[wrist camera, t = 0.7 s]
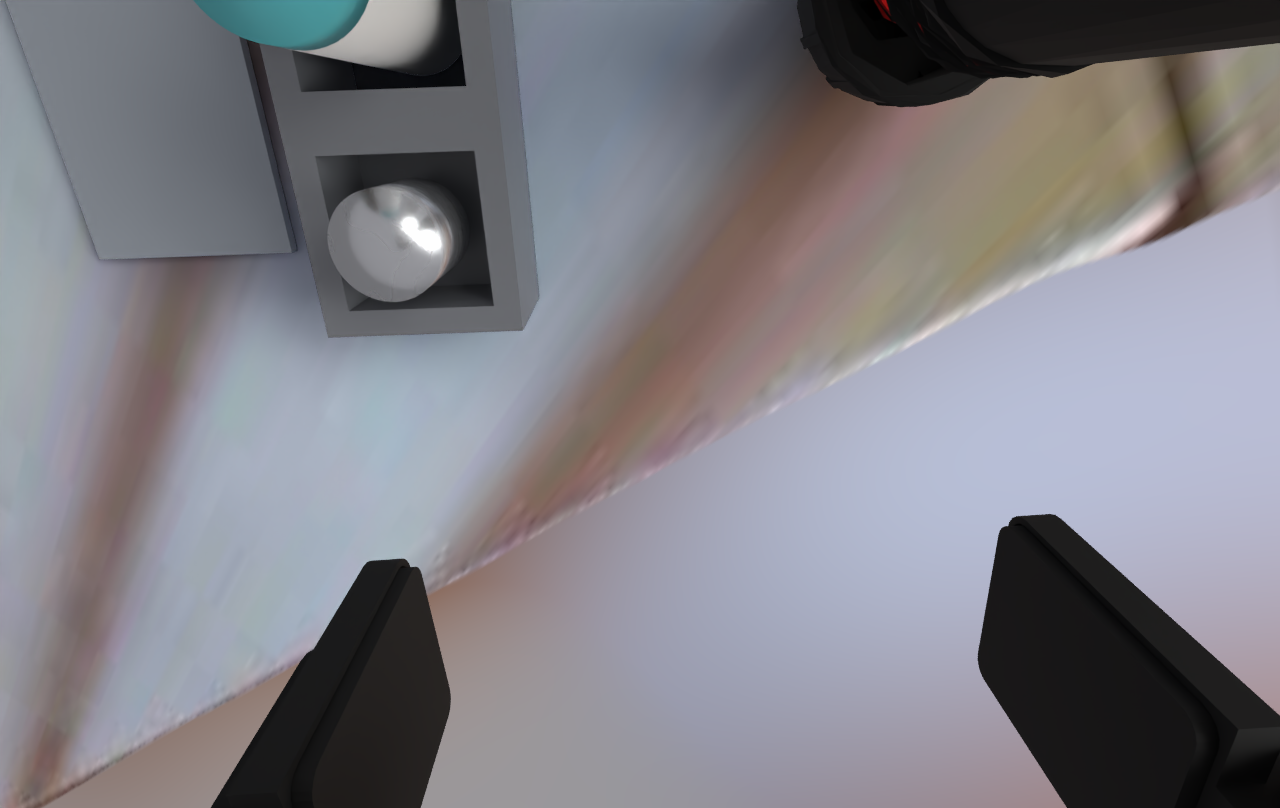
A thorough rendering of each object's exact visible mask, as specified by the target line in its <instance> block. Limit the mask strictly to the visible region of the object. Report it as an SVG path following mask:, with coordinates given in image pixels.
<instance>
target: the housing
mask: <svg viewBox="0 0 1280 808" xmlns="http://www.w3.org/2000/svg"><path fill="white" fill-rule="evenodd" d="M455 1H456V9H457V17H458V25H459V33H460V41H461V49H462V56H463V64H464V72H465V80H466V86H456V87H428V88H400V89H371V90H357V87H356V82H355V77H354V71H353V66H352V62H348V61H343V60H338V59H333V58H329V57H324V56H319V55H314V54H309V53H305V52H300V51H295V50H290V49H285V48H281V47H276V46H271V45H266V44H261V43H259V45H260V49H261V53H262V57H263V62H264V66H265V70H266V74H267V79H268V83H269V87H270V91H271V96H272V100H273V104H274V108H275V113H276V117H277V121H278V125H279V130H280V134H281V138H282V142H283V147H284V151H285V155H286V160H287V164H288V168H289V172H290V177H291V181H292V185H293V189H294V194H295V198H296V202H297V206H298V211H299V215H300V219H301V223H302V228H303V232H304V236H305V240H306V245H307V249H308V253H309V257H310V262H311V266H312V270H313V274H314V279H315V283H316V287H317V291H318V296H319V300H320V304H321V308H322V313H323V317H324V321H325V325H326V330H327V334H328V337H356V336H384V335H412V334H439V333H467V332H495V331H523V330H524V328H525V326H526V324H527V322H528V320H529V318H530V316H531V314H532V312H533V310H534V308H535V306H536V304H537V302H538V300H539V289H538V278H537V268H536V258H535V247H534V237H533V226H532V216H531V206H530V195H529V185H528V175H527V164H526V154H525V144H524V133H523V123H522V112H521V102H520V92H519V81H518V71H517V61H516V50H515V40H514V29H513V19H512V9H511V0H455ZM406 178H425V179H429V180H432V181H435V182H437V183H439V184H441V185H443V186H444V187H446V188H447V189H448V190H450V191H451V192H452V193H453V194H454V195H455V196H456V197H457V199H458V200H459V201H460V203H461V204H462V206H463V207H464V210H465V212H466V214H467V217H468V220H469V226H470V239H469V244H468V247H467V250H466V252H465V254H464V256H463V257H462V259H461V260H460V261H459V262H458V263H457V264H456V265H455V266H454V267H453V268H452V269H450V270H449V271H448V272H447V273H446V274H444V275H443V276H442V277H441V278H440V279H439V280H437V281H436V282H435V283H434V284H433V285H431V286H430V287H429V288H428V289H427V290H425V291H424V292H423V293H422V294H420V295H418V296H416V297H414V298H412V299H409V300H405V301H400V302H386V301H380V300H377V299H373V298H371V297H368V296H366V295H364V294H362V293H361V292H359V291H358V290H356V289H355V288H353V287H352V286H351V285H350V284H349V283H348V282H347V281H346V280H345V279H344V278H343V277H342V276H341V274H340V273H339V271H338V270H337V268H336V266H335V265H334V263H333V260H332V258H331V255H330V252H329V247H328V237H327V234H328V226H329V222H330V219H331V216H332V214H333V212H334V211H335V209H336V207H337V206H338V205H339V204H340V203H341V202H342V201H343V200H344V199H345V198H346V197H348V196H350V195H351V194H353V193H355V192H358V191H361V190H364V189H368V188H372V187H376V186H380V185H383V184H387V183H391V182H395V181H398V180H402V179H406Z"/></svg>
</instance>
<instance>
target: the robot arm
mask: <svg viewBox="0 0 1280 808" xmlns="http://www.w3.org/2000/svg"><path fill="white" fill-rule="evenodd" d="M978 664H979V669H980V672H981V674H982V677H983V678H984V680H985V682H986V683H987V685H988V687H989V688H990V690H991V691H992V693H993V694H994V696H995V697H996V699H997V700H998V702H999V704H1000V705H1001V706H1002V708H1003V710H1004V711H1005V713H1006V714H1007V716H1008V717H1009V719H1010V720H1011V722H1012V724H1013V725H1014V727H1015V728H1016V730H1017V731H1018V733H1019V734H1020V736H1021V737H1022V739H1023V741H1024V742H1025V744H1026V745H1027V747H1028V748H1029V750H1030V751H1031V753H1032V755H1033V756H1034V758H1035V759H1036V761H1037V762H1038V764H1039V765H1040V767H1041V768H1042V770H1043V771H1044V773H1045V774H1046V776H1047V778H1048V779H1049V781H1050V782H1051V784H1052V785H1053V787H1054V788H1055V790H1056V791H1057V793H1058V795H1059V796H1060V798H1061V799H1062V801H1063V802H1064V804H1065V805H1066V807H1067V808H1280V715H1278V714H1277V713H1276V712H1275V711H1274V710H1273V709H1272V708H1271V707H1270V706H1268V705H1267V704H1266V703H1265V702H1264V701H1263V700H1262V699H1261V698H1260V697H1258V696H1257V695H1256V694H1255V693H1254V692H1253V691H1252V690H1251V689H1250V688H1248V687H1247V686H1246V685H1245V684H1244V683H1243V682H1242V681H1241V680H1240V679H1238V678H1237V677H1236V676H1235V675H1234V674H1233V673H1232V672H1231V671H1230V670H1228V669H1227V668H1226V667H1225V666H1224V665H1223V664H1222V663H1221V662H1220V661H1218V660H1217V659H1216V658H1215V657H1214V656H1213V655H1212V654H1211V653H1210V652H1208V651H1207V650H1206V649H1205V648H1204V647H1203V646H1202V645H1201V644H1200V643H1198V642H1197V641H1196V640H1195V639H1194V638H1193V637H1192V636H1191V635H1189V634H1188V633H1187V632H1186V631H1185V630H1184V629H1183V628H1182V627H1181V626H1180V625H1178V624H1177V623H1176V622H1175V621H1174V620H1173V619H1172V618H1171V617H1169V616H1168V615H1167V614H1166V613H1165V612H1164V611H1163V610H1162V609H1161V608H1159V607H1158V606H1157V605H1156V604H1155V603H1154V602H1153V601H1152V600H1150V599H1149V598H1148V597H1147V596H1146V595H1145V594H1144V593H1143V592H1142V591H1141V590H1139V589H1138V588H1137V587H1136V586H1135V585H1134V584H1133V583H1132V582H1130V581H1129V580H1128V579H1127V578H1126V577H1125V576H1124V575H1123V574H1122V573H1121V572H1119V571H1118V570H1117V569H1116V568H1115V567H1114V566H1113V565H1112V564H1110V563H1109V562H1108V561H1107V560H1106V559H1105V558H1104V557H1103V556H1102V555H1101V554H1099V553H1098V552H1097V551H1096V550H1095V549H1094V548H1093V547H1092V546H1091V545H1089V544H1088V543H1087V542H1086V541H1085V540H1084V539H1083V538H1082V537H1081V536H1079V535H1078V534H1077V533H1076V532H1075V531H1074V530H1073V529H1071V528H1070V527H1069V526H1068V525H1067V524H1066V523H1065V522H1064V521H1063V520H1062V519H1060V518H1059V517H1057V516H1056V515H1052V514H1045V515H1030V516H1016V517H1014V518H1012V520H1011V521H1010V522H1009V526H1005V527H1003V528H1002V529H1001V530H1000V533H999V535H998V541H997V547H996V553H995V559H994V564H993V570H992V576H991V582H990V587H989V593H988V599H987V604H986V610H985V616H984V622H983V628H982V634H981V640H980V645H979V651H978ZM450 700H451V696H450V688H449V684H448V680H447V676H446V672H445V668H444V664H443V660H442V655H441V652H440V647H439V644H438V639H437V635H436V631H435V627H434V623H433V619H432V615H431V611H430V607H429V602H428V598H427V594H426V590H425V586H424V582H423V578H422V574H421V571H420V569H419V568H418V567H410V565H409V563H408V562H407V560H405V559H391V560H377V561H369V562H367V563H366V564H365V565H364V567H363V568H362V570H361V572H360V573H359V575H358V577H357V578H356V580H355V582H354V583H353V585H352V587H351V588H350V590H349V592H348V593H347V595H346V597H345V598H344V600H343V602H342V603H341V605H340V607H339V608H338V610H337V612H336V613H335V615H334V616H333V618H332V620H331V621H330V623H329V625H328V626H327V628H326V630H325V631H324V633H323V635H322V636H321V638H320V640H319V641H318V643H317V645H316V646H315V648H314V649H313V650H312V651H310V652H308V653H307V654H306V655H305V656H304V658H303V659H302V660H301V661H300V663H299V665H298V666H297V668H296V670H295V671H294V673H293V675H292V676H291V678H290V679H289V681H288V683H287V684H286V686H285V688H284V689H283V691H282V692H281V694H280V696H279V697H278V699H277V701H276V703H275V704H274V706H273V707H272V709H271V710H270V712H269V714H268V715H267V717H266V719H265V720H264V722H263V723H262V725H261V727H260V728H259V730H258V732H257V733H256V735H255V736H254V738H253V740H252V741H251V743H250V745H249V746H248V748H247V749H246V751H245V753H244V755H243V756H242V758H241V759H240V761H239V763H238V764H237V766H236V768H235V769H234V771H233V772H232V774H231V776H230V777H229V779H228V780H227V782H226V784H225V785H224V787H223V789H222V790H221V792H220V794H219V795H218V797H217V799H216V800H215V802H214V803H213V805H212V807H211V808H421V805H422V801H423V797H424V795H425V791H426V788H427V784H428V781H429V778H430V775H431V772H432V768H433V765H434V762H435V758H436V755H437V752H438V749H439V745H440V742H441V739H442V735H443V732H444V729H445V726H446V722H447V719H448V715H449V711H450V702H451V701H450Z"/></svg>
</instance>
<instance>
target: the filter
mask: <svg viewBox="0 0 1280 808" xmlns="http://www.w3.org/2000/svg"><path fill="white" fill-rule="evenodd" d="M797 9H798V14H799V19H800V24H801V28H802V33H803V38H801V42H802V45H803V48H804V49H807V48H808V49H809V51H810V53H811V55H812V57H813V59H814V61H815V63H816V65H817V67H818V69H819V70H820V71H821V72H822V73H823V74H824V75H826V80H827V81H828V83H829V84H830V85H831V86H832V87H833V88H840V89H841V90H842V91H845V92H847V93H849V94H852V95H854V96H856V97H859V98H861V99H863V100H866V101H871V102H874V103H875V104H877V105H882V106H897V107H917V106H924V105H931V104H935V103H939V102H943V101H946V100H950V99H954V98H958V97H961V96H965V95H969V94H970V93H971V92H973V91H974V90H975V89H976V88H978V87H979V86H980V85H982V84H983V83H984V82H985V81H987V80H988V79H990V78H998V77H1016V78H1028V77H1031V76H1040V75H1041V76H1046V77H1050V78H1053V77H1057V76H1061V75H1065V74H1069V73H1072V72H1074V71H1077V70H1079V69H1082V68H1084V67H1087V66H1089V65H1092V64H1095V63H1104V62H1113V61H1122V60H1131V59H1140V58H1149V57H1158V56H1167V55H1176V54H1185V53H1194V52H1203V51H1212V50H1221V49H1230V48H1239V47H1247V46H1256V45H1265V44H1274V43H1280V0H798V5H797Z"/></svg>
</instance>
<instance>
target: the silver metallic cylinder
mask: <svg viewBox="0 0 1280 808" xmlns="http://www.w3.org/2000/svg"><path fill="white" fill-rule="evenodd" d="M327 237H328V247H329V252H330V255H331V258H332V260H333V263H334V265H335V266H336V268H337V270H338V271H339V273H340V274H341V276H342V277H343V278H344V279H345V280H346V281H347V282H348V283H349V284H350V285H351V286H352V287H353V288H355V289H356V290H358V291H359V292H361V293H362V294H364V295H366V296H368V297H371V298H373V299H377V300H380V301H386V302H400V301H405V300H409V299H412V298H414V297H416V296H418V295H420V294H422V293H423V292H424V291H425V290H427V289H428V288H429V287H430V286H431V285H433V284H434V283H435V282H436V281H437V280H439V279H440V278H441V277H442V276H443V275H444V274H446V273H447V272H448V271H449V270H450V269H452V268H453V267H454V266H455V265H456V264H457V263H458V262H459V261H460V260H461V259H462V257H463V256H464V254H465V252H466V250H467V247H468V244H469V239H470V226H469V220H468V217H467V214H466V212H465V210H464V207H463V206H462V204H461V203H460V201H459V200H458V199H457V197H456V196H455V195H454V194H453V193H452V192H451V191H450V190H448V189H447V188H446V187H444V186H443V185H441V184H439V183H437V182H435V181H432V180H429V179H425V178H406V179H402V180H398V181H395V182H391V183H387V184H383V185H380V186H376V187H372V188H368V189H364V190H361V191H358V192H355V193H353V194H351V195H350V196H348V197H346V198H345V199H344V200H343V201H342V202H341V203H340V204H339V205H338V206H337V207H336V209H335V211H334V212H333V214H332V216H331V219H330V222H329V226H328V234H327Z"/></svg>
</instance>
